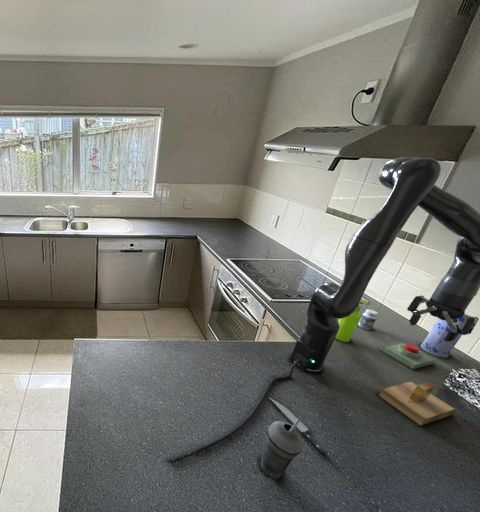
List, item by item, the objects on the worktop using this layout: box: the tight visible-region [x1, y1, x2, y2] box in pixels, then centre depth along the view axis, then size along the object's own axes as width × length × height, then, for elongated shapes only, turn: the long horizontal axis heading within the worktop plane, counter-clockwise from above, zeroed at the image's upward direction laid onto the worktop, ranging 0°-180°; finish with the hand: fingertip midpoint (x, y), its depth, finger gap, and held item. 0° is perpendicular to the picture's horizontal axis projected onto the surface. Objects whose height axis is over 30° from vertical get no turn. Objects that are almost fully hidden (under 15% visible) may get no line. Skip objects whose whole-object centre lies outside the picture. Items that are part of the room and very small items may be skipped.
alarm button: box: [405, 343, 420, 353], centre depth 110 cm, size 4×4×2 cm
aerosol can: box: [420, 317, 466, 358], centre depth 112 cm, size 8×8×20 cm
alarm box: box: [382, 342, 435, 370], centre depth 111 cm, size 11×10×4 cm
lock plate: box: [378, 381, 456, 426], centre depth 90 cm, size 14×11×3 cm
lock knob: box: [409, 382, 436, 402], centre depth 89 cm, size 5×2×6 cm, turn 105°
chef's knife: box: [269, 397, 327, 457], centre depth 83 cm, size 19×1×3 cm
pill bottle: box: [357, 308, 379, 330], centre depth 128 cm, size 5×5×8 cm
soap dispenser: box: [335, 298, 372, 343], centre depth 118 cm, size 6×7×20 cm
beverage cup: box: [260, 418, 304, 479], centre depth 68 cm, size 7×7×20 cm
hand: (429, 332), depth 93 cm, fingers open, 8 cm apart
